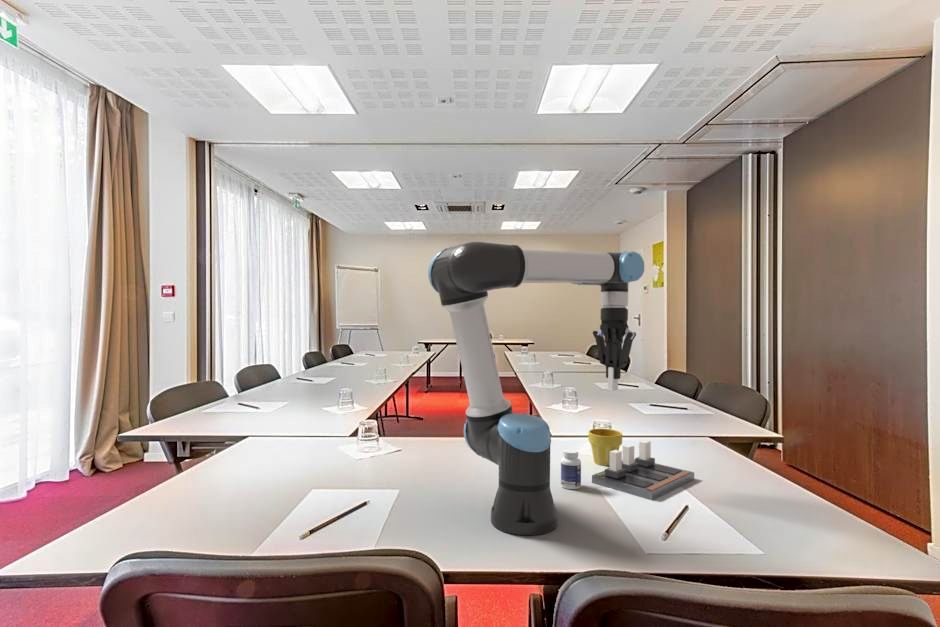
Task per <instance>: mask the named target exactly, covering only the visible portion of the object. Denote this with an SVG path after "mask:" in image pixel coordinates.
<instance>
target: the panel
mask: <svg viewBox="0 0 940 627" xmlns="http://www.w3.org/2000/svg"><path fill="white" fill-rule="evenodd" d="M634 462H635V459H634ZM694 480H695V472H694V471H690V470H685V469H682V468H677V467H674V466H669V465H664V464H660V463H657V462H655V464H653V465H650V466H648V467H647V466H642V465H639V469H636V470H634V471H631V472H629V471H626V476H623V477H621V478H618V479H617V478H613V477H610V476H606V475H605V470H603V471H600V472H598V473H595V474H592V475H591V483H592V484H595V485H598V486H602V487H606V488H609V489H613V490H616V491H620V492H623V493H627V494H630V495H634V496H637V497H639V498H643V499H647V500H650V501H654V500H655V499H657V498H659V497H662V496H663V495H666V494H668V493H670V492H671V491H673V490H676V489H678V488H679V487H680V488H681V487H682V486H683V485H686V484H688V483H690V482H692V481H694Z"/></svg>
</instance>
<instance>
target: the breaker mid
mask: <svg viewBox="0 0 940 627" xmlns="http://www.w3.org/2000/svg"><path fill="white" fill-rule="evenodd" d="M634 460H635V445H632V444H625V445H622V468H623V469H626V471H629V472H631V471H634V470H636V469H639V463H636V462H634Z"/></svg>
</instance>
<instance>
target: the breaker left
mask: <svg viewBox="0 0 940 627" xmlns="http://www.w3.org/2000/svg"><path fill="white" fill-rule="evenodd" d="M622 461H623V450H620V449H619V450H613V451H610V459H609V467H608V468H604V471H605V475H606V476H610V477H613V478H617V479H618V478H621V477H623V476H626V469H623V468H622Z"/></svg>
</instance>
